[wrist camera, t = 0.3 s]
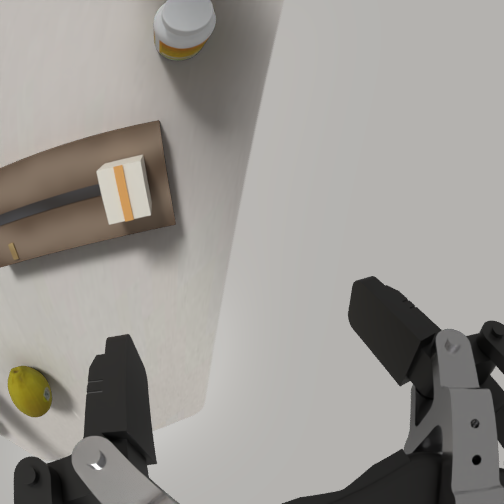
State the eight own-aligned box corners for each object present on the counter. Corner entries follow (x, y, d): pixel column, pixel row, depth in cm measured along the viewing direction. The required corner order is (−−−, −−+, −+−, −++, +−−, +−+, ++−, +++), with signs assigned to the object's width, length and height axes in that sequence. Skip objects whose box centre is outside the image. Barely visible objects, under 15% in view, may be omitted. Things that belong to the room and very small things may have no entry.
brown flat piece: (-20, 177, 23) (-33, 184, 20) (159, 120, 28) (159, 120, 25) (4, 257, 28) (-5, 269, 25) (174, 215, 33) (175, 225, 30)
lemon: (58, 395, 40) (54, 431, 33) (22, 388, 37) (14, 421, 30) (48, 355, 36) (39, 394, 29) (8, 347, 33) (-5, 383, 26)
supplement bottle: (213, 47, 26) (235, 23, 18) (168, 70, 26) (171, 51, 17) (191, 10, 23) (205, -25, 15) (146, 32, 23) (141, 1, 15)
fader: (104, 163, 25) (95, 171, 22) (143, 154, 26) (140, 160, 23) (114, 210, 28) (108, 225, 24) (151, 202, 29) (150, 216, 25)
